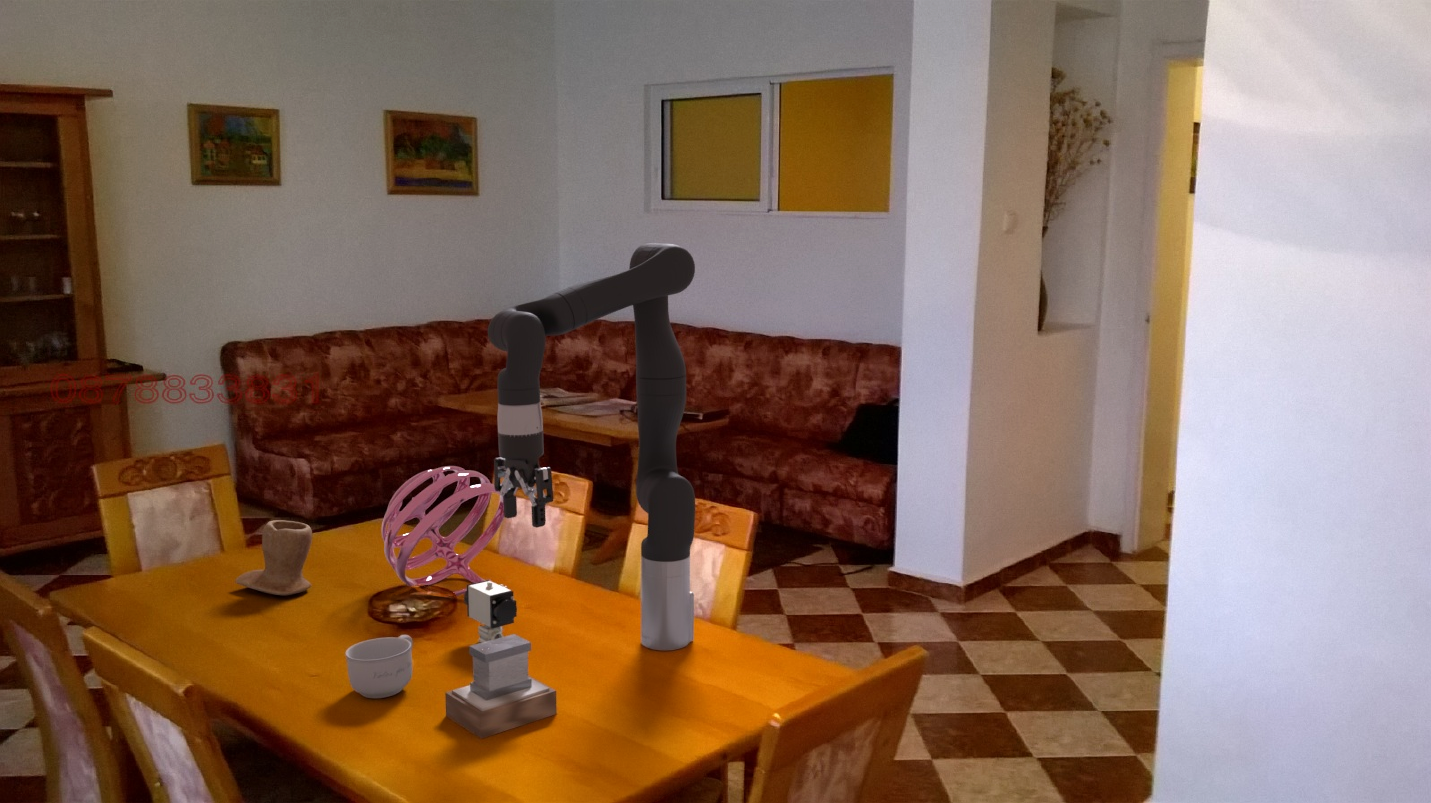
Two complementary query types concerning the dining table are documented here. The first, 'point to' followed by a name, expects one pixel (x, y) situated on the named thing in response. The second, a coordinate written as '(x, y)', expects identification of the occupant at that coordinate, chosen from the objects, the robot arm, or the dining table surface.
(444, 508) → the spiral basket
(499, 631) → the pneumatic valve
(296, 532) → the brown top hat
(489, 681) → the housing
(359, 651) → the teacup
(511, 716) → the stand
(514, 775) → the dining table surface
